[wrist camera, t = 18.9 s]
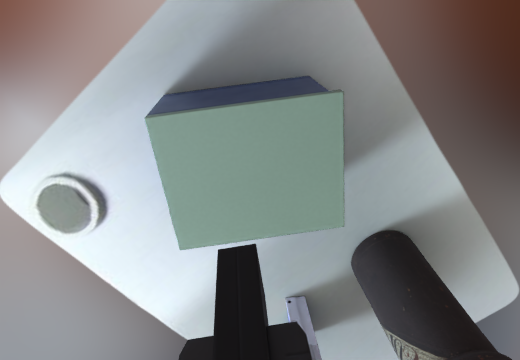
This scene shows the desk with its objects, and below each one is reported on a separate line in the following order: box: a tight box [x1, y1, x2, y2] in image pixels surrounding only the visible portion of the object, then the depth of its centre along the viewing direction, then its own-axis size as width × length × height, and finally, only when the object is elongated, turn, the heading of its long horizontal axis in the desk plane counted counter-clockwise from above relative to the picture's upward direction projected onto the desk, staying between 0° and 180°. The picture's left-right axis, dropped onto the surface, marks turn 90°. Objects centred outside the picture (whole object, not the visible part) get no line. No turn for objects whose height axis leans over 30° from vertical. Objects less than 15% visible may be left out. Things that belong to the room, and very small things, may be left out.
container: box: [351, 231, 512, 360], centre depth 37 cm, size 9×9×20 cm
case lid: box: [145, 90, 344, 250], centre depth 30 cm, size 16×13×1 cm
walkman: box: [285, 296, 322, 360], centre depth 44 cm, size 8×3×12 cm, turn 8°
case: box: [148, 76, 328, 115], centre depth 34 cm, size 15×13×8 cm
